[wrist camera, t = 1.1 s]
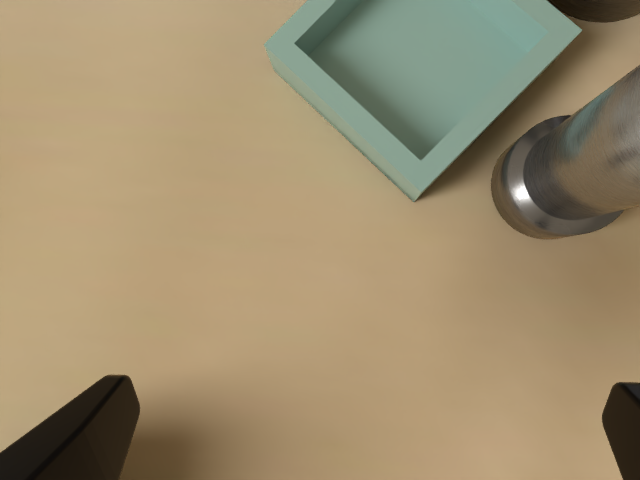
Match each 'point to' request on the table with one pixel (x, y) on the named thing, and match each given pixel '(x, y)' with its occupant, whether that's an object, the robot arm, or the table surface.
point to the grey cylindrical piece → (574, 167)
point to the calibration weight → (598, 9)
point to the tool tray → (416, 72)
